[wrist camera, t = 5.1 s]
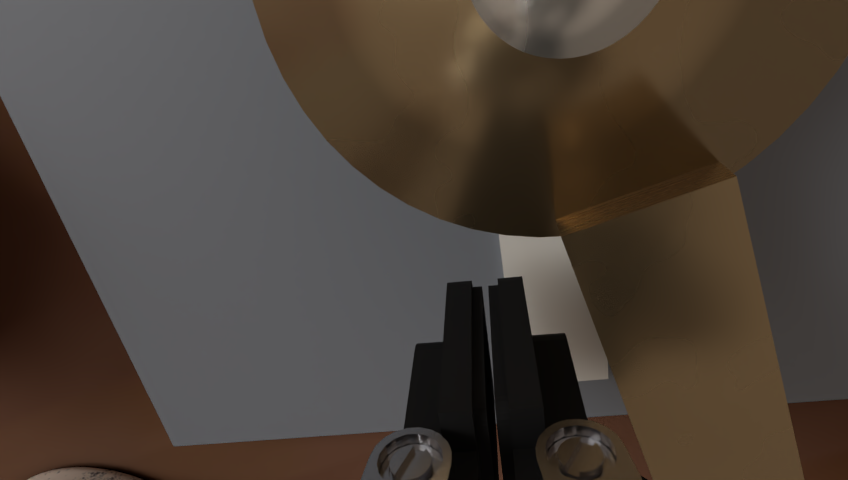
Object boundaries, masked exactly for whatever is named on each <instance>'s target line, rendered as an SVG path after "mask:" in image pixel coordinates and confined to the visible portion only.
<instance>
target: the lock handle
mask: <svg viewBox="0 0 848 480" xmlns="http://www.w3.org/2000/svg"><path fill="white" fill-rule="evenodd" d="M252 1H253V4H254V7H255V10H256V13H257V16H258V19H259V22H260V25H261V28H262V31H263V34H264V37H265V40H266V42H267V45H268V47H269V49H270V51H271V53H272V55H273V57H274V60H275V62H276V64H277V66H278V68H279V70H280V73H281V75H282V77H283V79H284V80H285V82H286V84H287V85H288V87H289V89H290V90H291V92H292V93H293V95H294V97H295V98H296V100H297V102H298V103H299V105H300V106H301V108H302V110H303V111H304V113H305V114H306V115H307V116H308V118H309V119H310V120H311V121H312V123H313V124H314V125H315V127H316V128H317V129H318V130H319V132H320V133H321V134H322V135H323V137H324V138H325V139H326V140H327V142H328V143H329V144H330V145H331V146H333V147H334V148H335V149H336V150H337V151H338V152H339V153H340V154H341V155H342V156H343V157H344V158H345V159H346V160H347V161H348V162H349V163H350V164H351V165H352V166H353V167H354V168H355V169H357V170H358V171H359V172H360V173H362V174H363V175H364V176H365V177H367V178H368V179H369V180H371V181H372V182H373V183H374V184H376V185H377V186H378V187H380V188H381V189H383V190H384V191H386V192H388V193H389V194H391V195H393V196H394V197H396V198H398V199H399V200H401V201H403V202H404V203H406V204H408V205H409V206H412V207H414V208H416V209H418V210H421V211H423V212H425V213H427V214H429V215H432V216H434V217H436V218H438V219H441V220H444V221H447V222H451V223H454V224H457V225H460V226H463V227H467V228H470V229H474V230H479V231H485V232H490V233H495V234H501V235H509V236H524V237H558V236H561V239H562V241H563V244H564V246H565V249H566V252H567V254H568V257H569V260H570V262H571V265H572V268H573V270H574V273H575V275H576V278H577V281H578V283H579V286H580V289H581V291H582V294H583V297H584V299H585V302H586V304H587V307H588V310H589V312H590V315H591V318H592V320H593V323H594V326H595V328H596V331H597V333H598V336H599V339H600V341H601V344H602V347H603V349H604V352H605V355H606V357H607V360H608V362H609V365H610V368H611V370H612V373H613V376H614V378H615V381H616V384H617V386H618V389H619V391H620V394H621V397H622V399H623V402H624V405H625V407H626V410H627V413H628V415H629V418H630V421H631V423H632V426H633V428H634V431H635V434H636V436H637V439H638V442H639V444H640V447H641V450H642V452H643V455H644V457H645V460H646V463H647V465H648V468H649V471H650V473H651V476H652V479H653V480H804V476H803V471H802V467H801V462H800V458H799V453H798V449H797V444H796V440H795V435H794V431H793V426H792V422H791V417H790V413H789V408H788V404H787V399H786V395H785V390H784V386H783V381H782V377H781V372H780V368H779V363H778V359H777V354H776V350H775V346H774V341H773V337H772V332H771V328H770V323H769V319H768V314H767V310H766V305H765V301H764V296H763V292H762V287H761V283H760V278H759V274H758V269H757V265H756V260H755V256H754V251H753V247H752V242H751V238H750V233H749V229H748V224H747V220H746V215H745V211H744V207H743V202H742V198H741V193H740V189H739V184H738V180H737V176H736V175H735V174H734V173H735V172H736V171H738V170H739V169H741V168H742V167H744V166H745V165H747V164H748V163H749V162H750V161H751V160H753V159H754V158H755V157H756V156H757V155H759V154H760V153H761V152H762V151H763V150H765V149H766V148H767V147H768V146H769V145H771V144H772V143H773V142H774V141H775V140H777V139H778V138H779V137H780V136H781V135H782V134H783V133H784V132H785V131H786V130H787V129H788V128H789V127H790V126H791V125H792V124H793V123H794V122H795V121H796V119H797V118H798V117H799V116H800V115H801V114H802V113H803V112H804V111H805V110H806V109H807V108H808V107H809V106H810V105H811V104H812V102H813V101H814V100H815V99H816V97H817V96H818V95H819V94H820V92H821V91H822V90H823V89H824V87H825V86H826V85H827V83H828V82H829V81H830V80H831V78H832V77H833V76H834V75H835V73H836V72H837V71H838V70H839V68H840V66H841V65H842V63H843V62H844V60H845V59H846V57H847V55H848V0H252Z"/></svg>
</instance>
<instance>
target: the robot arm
mask: <svg viewBox="0 0 848 480" xmlns="http://www.w3.org/2000/svg"><path fill="white" fill-rule="evenodd" d="M497 280H498V285H492V286H488V292H489V309H490V327H491V344H492V362H493V377H492V368H491V360H490V351H489V342H488V333H487V325H486V316H485V307H484V299H483V290H482V286H479V287H473V284H472V281H461V282H449V283H447V290H446V304H445V319H444V333H443V342H430V343H417V344H416V346H415V351H414V358H413V365H412V373H411V380H410V387H409V394H408V401H407V409H406V416H405V423H404V429H402V430H399V431H395V432H394V433H392V434H390V435H388V436H387V437H385V438H384V439H382V440H381V441H380V442H379V443H378V444H377V445H376V446H375V448H374V450H373V451H372V453H371V455H370V457H369V460H368V462H367V465H366V468H365V470H364V473H363V475H362V478H361V480H499V474H498V455H497V437H496V421H497V430H498V438H499V447H500V456H501V464H502V473H503V480H647V479H645V478H644V477H642V476H640V474H639V472H638V470H637V469H636V467H635V465H634V463H633V461H632V459H631V457H630V455H629V453H628V451H627V449H626V447H625V445H624V444H623V442H622V441H621V440H620V438H619V437H618V436H617V434H615V433H614V432H613V431H611V430H610V429H609V428H607V427H606V426H604V425H601V424H599V423H597V422H594V421H589V420H587V416H586V412H585V408H584V404H583V400H582V396H581V392H580V388H579V384H578V380H577V376H576V372H575V368H574V364H573V361H572V357H571V353H570V349H569V345H568V341H567V337H566V334H565V333H556V334H542V335H532V333H531V327H530V321H529V315H528V309H527V303H526V297H525V291H524V285H523V279H522V276H520V277H508V278H497ZM493 379H494V387H493ZM494 397H495V400H494ZM495 410H496V418H495Z"/></svg>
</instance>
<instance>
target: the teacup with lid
mask: <svg viewBox="0 0 848 480" xmlns="http://www.w3.org/2000/svg"><path fill="white" fill-rule="evenodd" d="M28 480H143V479H141V478H138V477H135V476H132V475H129V474H125V473H121V472H117V471H113V470H107V469H100V468H91V467H69V468H61V469H55V470H51V471H47V472H43V473H41V474H38V475H35V476H33V477H31V478H30V479H28Z"/></svg>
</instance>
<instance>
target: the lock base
mask: <svg viewBox="0 0 848 480" xmlns="http://www.w3.org/2000/svg"><path fill="white" fill-rule="evenodd" d="M0 96H1V98H2V100H3V102H4V104H5V106H6V108H7V110H8V112H9V114H10V116H11V118H12V121H13V123H14V125H15V127H16V129H17V131H18V133H19V135H20V137H21V139H22V141H23V143H24V145H25V147H26V149H27V151H28V153H29V155H30V157H31V159H32V161H33V163H34V165H35V167H36V169H37V171H38V173H39V175H40V177H41V179H42V181H43V183H44V185H45V187H46V189H47V191H48V193H49V195H50V197H51V199H52V201H53V203H54V205H55V207H56V209H57V211H58V213H59V215H60V217H61V219H62V222H63V224H64V226H65V228H66V230H67V232H68V234H69V236H70V238H71V240H72V242H73V244H74V246H75V248H76V250H77V252H78V254H79V256H80V258H81V260H82V262H83V264H84V266H85V268H86V270H87V272H88V274H89V276H90V278H91V280H92V282H93V284H94V286H95V288H96V290H97V292H98V294H99V296H100V298H101V300H102V302H103V304H104V306H105V308H106V310H107V312H108V314H109V316H110V318H111V320H112V323H113V325H114V327H115V329H116V331H117V333H118V335H119V337H120V339H121V341H122V343H123V345H124V347H125V349H126V351H127V353H128V355H129V357H130V359H131V361H132V363H133V365H134V367H135V369H136V371H137V373H138V375H139V377H140V379H141V381H142V383H143V385H144V387H145V389H146V391H147V393H148V395H149V397H150V399H151V401H152V403H153V405H154V407H155V409H156V411H157V413H158V415H159V417H160V419H161V421H162V424H163V426H164V428H165V430H166V432H167V434H168V436H169V438H170V440H171V442H172V444H173V446H186V445H201V444H215V443H229V442H243V441H257V440H272V439H286V438H300V437H314V436H328V435H343V434H357V433H371V432H385V431H399V430H402V429H404V423H405V416H406V409H407V401H408V394H409V387H410V380H411V373H412V365H413V358H414V351H415V346H416V344H417V343H430V342H443V333H444V319H445V304H446V290H447V283H449V282H461V281H472V284H473V287H479V286H482V290H483V299H484V307H485V316H486V325H487V333H488V342H489V351H490V360H491V368H492V377H493V362H492V344H491V327H490V309H489V292H488V286H492V285H498V280H497V278H508V277H520V276H522V279H523V285H524V291H525V297H526V303H527V309H528V315H529V321H530V327H531V333H532V335H542V334H556V333H565V334H566V337H567V341H568V345H569V349H570V353H571V357H572V361H573V364H574V368H575V372H576V376H577V380H578V384H579V388H580V392H581V396H582V400H583V404H584V408H585V412H586V416H587V417H598V416H612V415H627V414H628V413H627V410H626V407H625V405H624V402H623V399H622V397H621V394H620V391H619V389H618V386H617V384H616V381H615V378H614V376H613V373H612V370H611V368H610V365H609V362H608V360H607V357H606V355H605V352H604V349H603V347H602V344H601V341H600V339H599V336H598V333H597V331H596V328H595V326H594V323H593V320H592V318H591V315H590V312H589V310H588V307H587V304H586V302H585V299H584V297H583V294H582V291H581V289H580V286H579V283H578V281H577V278H576V275H575V273H574V270H573V268H572V265H571V262H570V260H569V257H568V254H567V252H566V249H565V246H564V244H563V241H562V239H561V236H558V237H524V236H509V235H501V234H495V233H490V232H485V231H479V230H474V229H470V228H467V227H463V226H460V225H457V224H454V223H451V222H447V221H444V220H441V219H438V218H436V217H434V216H432V215H429V214H427V213H425V212H423V211H421V210H418V209H416V208H414V207H412V206H409V205H408V204H406V203H404V202H403V201H401V200H399V199H398V198H396V197H394V196H393V195H391V194H389V193H388V192H386V191H384V190H383V189H381V188H380V187H378V186H377V185H376V184H374V183H373V182H372V181H371V180H369V179H368V178H367V177H365V176H364V175H363V174H362V173H360V172H359V171H358V170H357V169H355V168H354V167H353V166H352V165H351V164H350V163H349V162H348V161H347V160H346V159H345V158H344V157H343V156H342V155H341V154H340V153H339V152H338V151H337V150H336V149H335V148H334V147H333V146H331V145H330V144H329V143H328V142H327V140H326V139H325V138H324V137H323V135H322V134H321V133H320V132H319V130H318V129H317V128H316V127H315V125H314V124H313V123H312V121H311V120H310V119H309V118H308V116H307V115H306V114H305V113H304V111H303V110H302V108H301V106H300V105H299V103H298V102H297V100H296V98H295V97H294V95H293V93H292V92H291V90H290V89H289V87H288V85H287V84H286V82H285V80H284V79H283V77H282V75H281V73H280V70H279V68H278V66H277V64H276V62H275V60H274V57H273V55H272V53H271V51H270V49H269V47H268V45H267V42H266V40H265V37H264V34H263V31H262V28H261V25H260V22H259V19H258V16H257V13H256V10H255V7H254V4H253V1H252V0H0ZM734 174H735V175H736V176H737V180H738V184H739V189H740V193H741V198H742V202H743V207H744V211H745V215H746V220H747V224H748V229H749V233H750V238H751V242H752V247H753V251H754V256H755V260H756V265H757V269H758V274H759V278H760V283H761V287H762V292H763V296H764V301H765V305H766V310H767V314H768V319H769V323H770V328H771V332H772V337H773V341H774V346H775V350H776V354H777V359H778V363H779V368H780V372H781V377H782V381H783V386H784V390H785V395H786V399H787V403H797V402H811V401H825V400H839V399H848V55H847V57H846V59H845V60H844V62H843V63H842V65H841V66H840V68H839V70H838V71H837V72H836V73H835V75H834V76H833V77H832V78H831V80H830V81H829V82H828V83H827V85H826V86H825V87H824V89H823V90H822V91H821V92H820V94H819V95H818V96H817V97H816V99H815V100H814V101H813V102H812V104H811V105H810V106H809V107H808V108H807V109H806V110H805V111H804V112H803V113H802V114H801V115H800V116H799V117H798V118H797V119H796V121H795V122H794V123H793V124H792V125H791V126H790V127H789V128H788V129H787V130H786V131H785V132H784V133H783V134H782V135H781V136H780V137H779V138H778V139H777V140H775V141H774V142H773V143H772V144H771V145H769V146H768V147H767V148H766V149H765V150H763V151H762V152H761V153H760V154H759V155H757V156H756V157H755V158H754V159H753V160H751V161H750V162H749V163H748V164H747V165H745V166H744V167H742V168H741V169H739V170H738V171H736V172H735V173H734ZM493 387H494V379H493ZM494 400H495V397H494ZM495 418H496V410H495ZM496 424H497V421H496Z"/></svg>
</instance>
